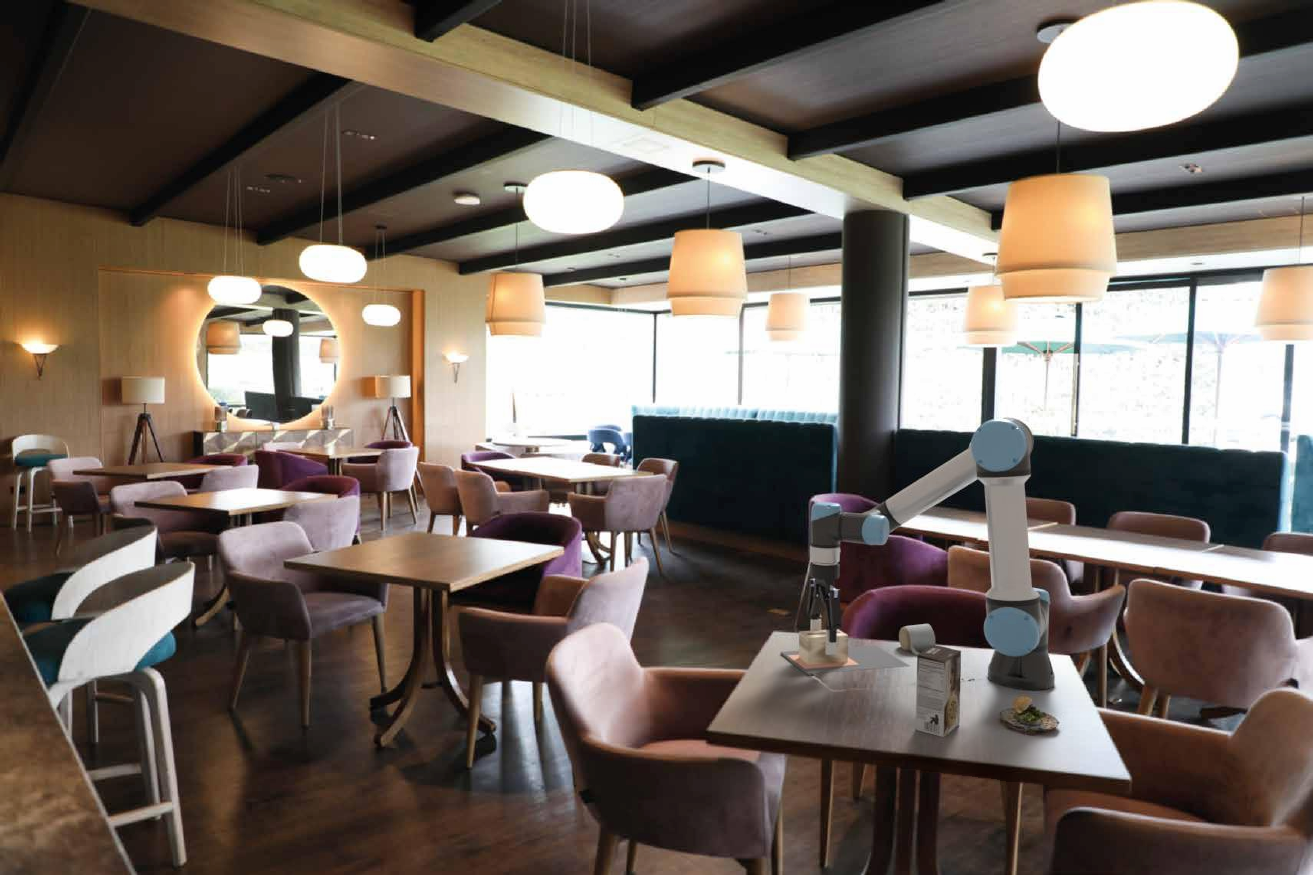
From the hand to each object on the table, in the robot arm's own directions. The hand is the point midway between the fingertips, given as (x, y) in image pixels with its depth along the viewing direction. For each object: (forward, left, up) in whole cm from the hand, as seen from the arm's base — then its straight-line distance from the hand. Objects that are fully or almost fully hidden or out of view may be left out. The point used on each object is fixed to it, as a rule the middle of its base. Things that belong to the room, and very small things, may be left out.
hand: (823, 648), depth 221 cm
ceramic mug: (+2, -29, -4) cm, 30 cm away
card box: (0, 0, -3) cm, 3 cm away
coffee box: (-45, -5, -4) cm, 45 cm away
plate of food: (-48, -25, -4) cm, 54 cm away
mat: (0, -6, -4) cm, 7 cm away
